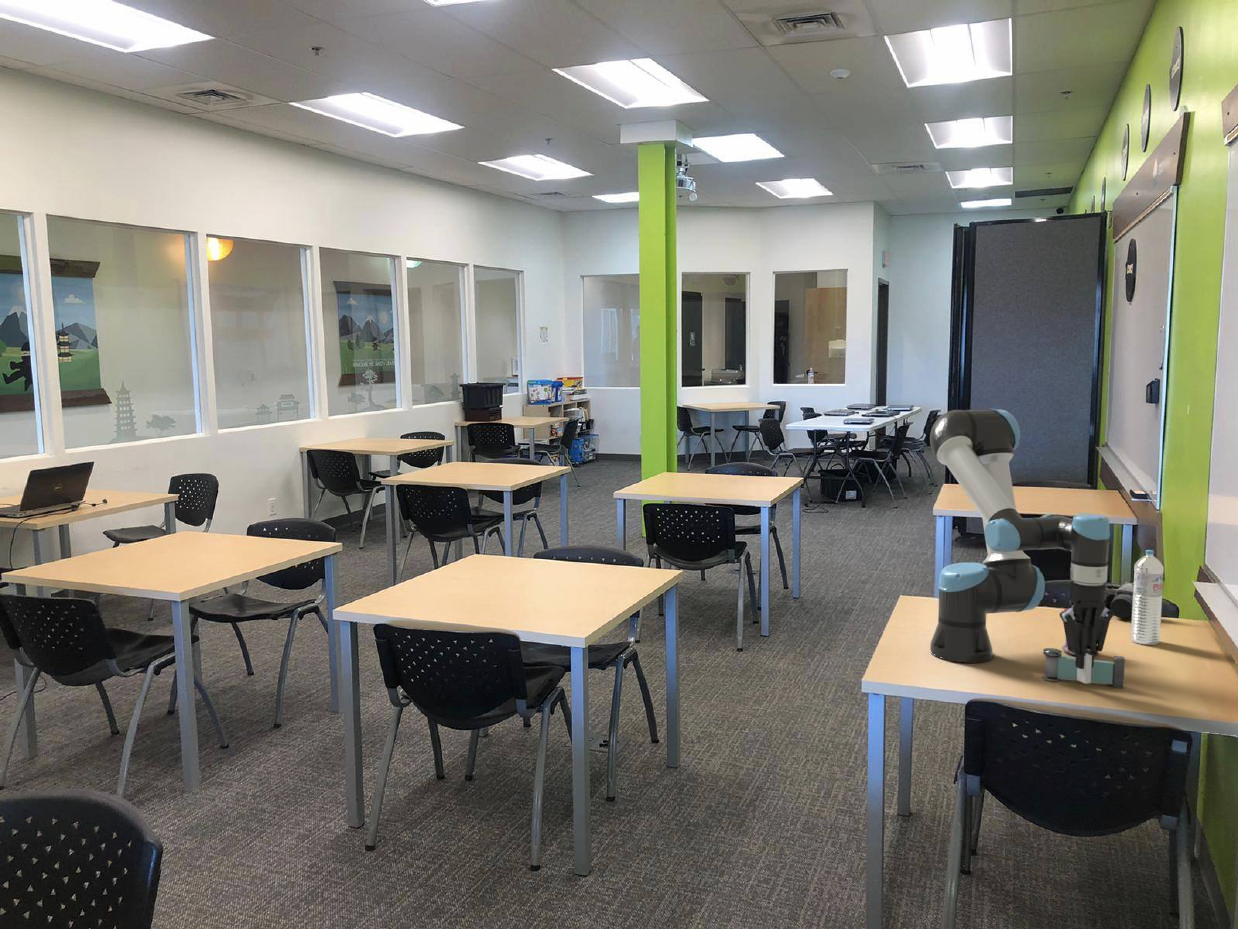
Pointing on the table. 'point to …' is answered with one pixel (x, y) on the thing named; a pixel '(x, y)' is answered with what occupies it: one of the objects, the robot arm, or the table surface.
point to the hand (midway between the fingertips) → (1083, 681)
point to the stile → (1118, 672)
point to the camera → (1120, 599)
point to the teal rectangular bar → (1068, 670)
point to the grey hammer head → (1052, 653)
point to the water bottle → (1147, 600)
